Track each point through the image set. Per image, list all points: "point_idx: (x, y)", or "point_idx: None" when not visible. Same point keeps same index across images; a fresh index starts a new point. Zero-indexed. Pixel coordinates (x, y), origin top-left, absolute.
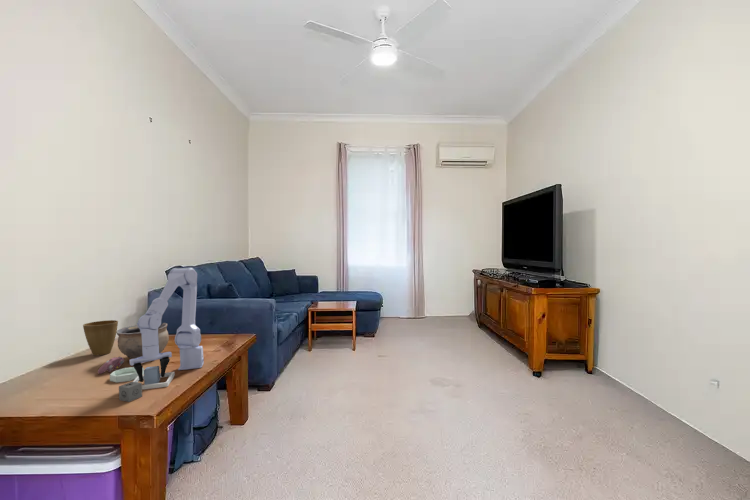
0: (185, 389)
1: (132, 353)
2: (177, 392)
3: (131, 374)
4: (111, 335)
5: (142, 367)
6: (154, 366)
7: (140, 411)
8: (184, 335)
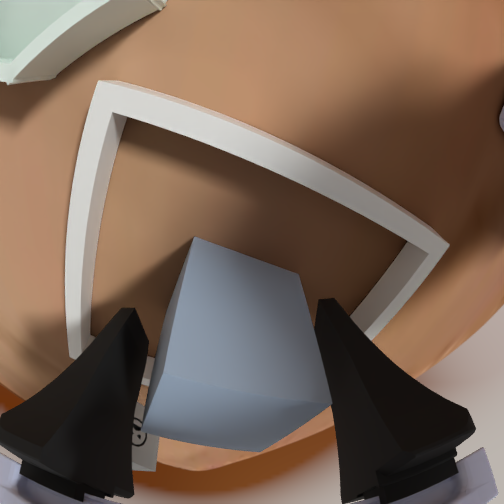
0: (319, 431)
1: None
2: (286, 438)
3: (29, 64)
4: None
5: (131, 480)
6: (273, 402)
7: (166, 459)
8: None
